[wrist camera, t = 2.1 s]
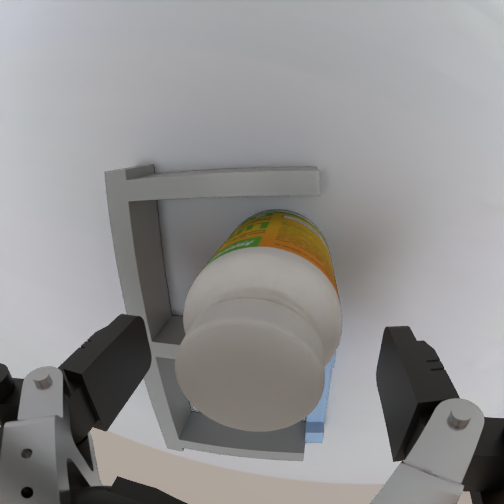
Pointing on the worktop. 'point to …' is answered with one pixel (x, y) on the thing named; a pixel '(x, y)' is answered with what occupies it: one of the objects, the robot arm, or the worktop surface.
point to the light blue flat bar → (319, 411)
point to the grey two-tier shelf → (157, 299)
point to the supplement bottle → (261, 325)
